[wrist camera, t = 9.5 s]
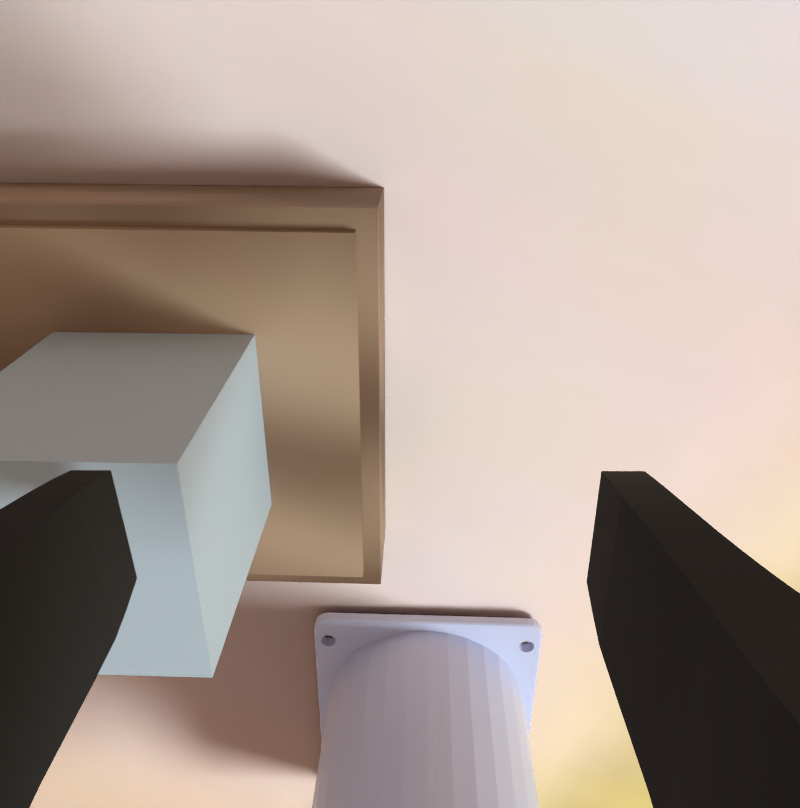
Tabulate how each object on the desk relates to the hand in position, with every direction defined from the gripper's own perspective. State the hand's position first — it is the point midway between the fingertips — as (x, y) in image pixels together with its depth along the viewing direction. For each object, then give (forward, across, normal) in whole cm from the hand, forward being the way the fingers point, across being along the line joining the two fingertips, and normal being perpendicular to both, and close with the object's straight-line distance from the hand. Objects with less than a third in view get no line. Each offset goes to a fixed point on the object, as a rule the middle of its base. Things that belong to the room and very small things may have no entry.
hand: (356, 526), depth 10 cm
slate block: (+7, +6, +2) cm, 10 cm away
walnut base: (+10, +6, +2) cm, 12 cm away
